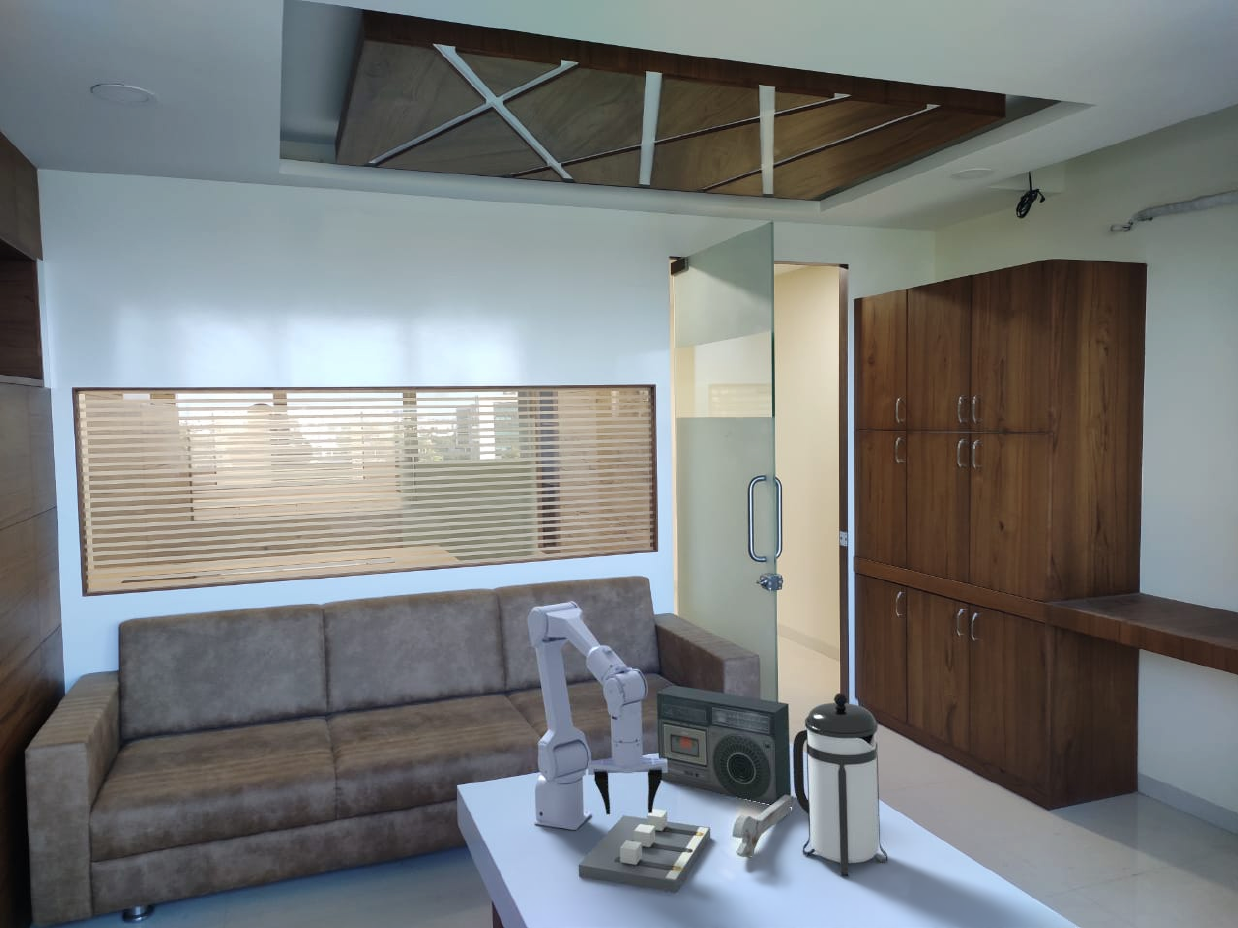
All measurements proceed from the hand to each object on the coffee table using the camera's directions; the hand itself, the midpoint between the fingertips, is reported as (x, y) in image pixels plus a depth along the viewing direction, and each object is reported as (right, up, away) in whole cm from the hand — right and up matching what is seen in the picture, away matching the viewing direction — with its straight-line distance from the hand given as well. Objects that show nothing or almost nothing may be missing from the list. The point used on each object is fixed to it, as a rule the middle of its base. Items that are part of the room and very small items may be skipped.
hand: (629, 811), depth 157 cm
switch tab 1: (0, -7, -5) cm, 8 cm away
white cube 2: (+3, -6, +1) cm, 7 cm away
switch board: (+3, -9, +1) cm, 9 cm away
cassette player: (+21, -8, +32) cm, 39 cm away
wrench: (+27, -8, +8) cm, 29 cm away
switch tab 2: (+6, -6, +8) cm, 12 cm away
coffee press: (+38, -8, -1) cm, 39 cm away
